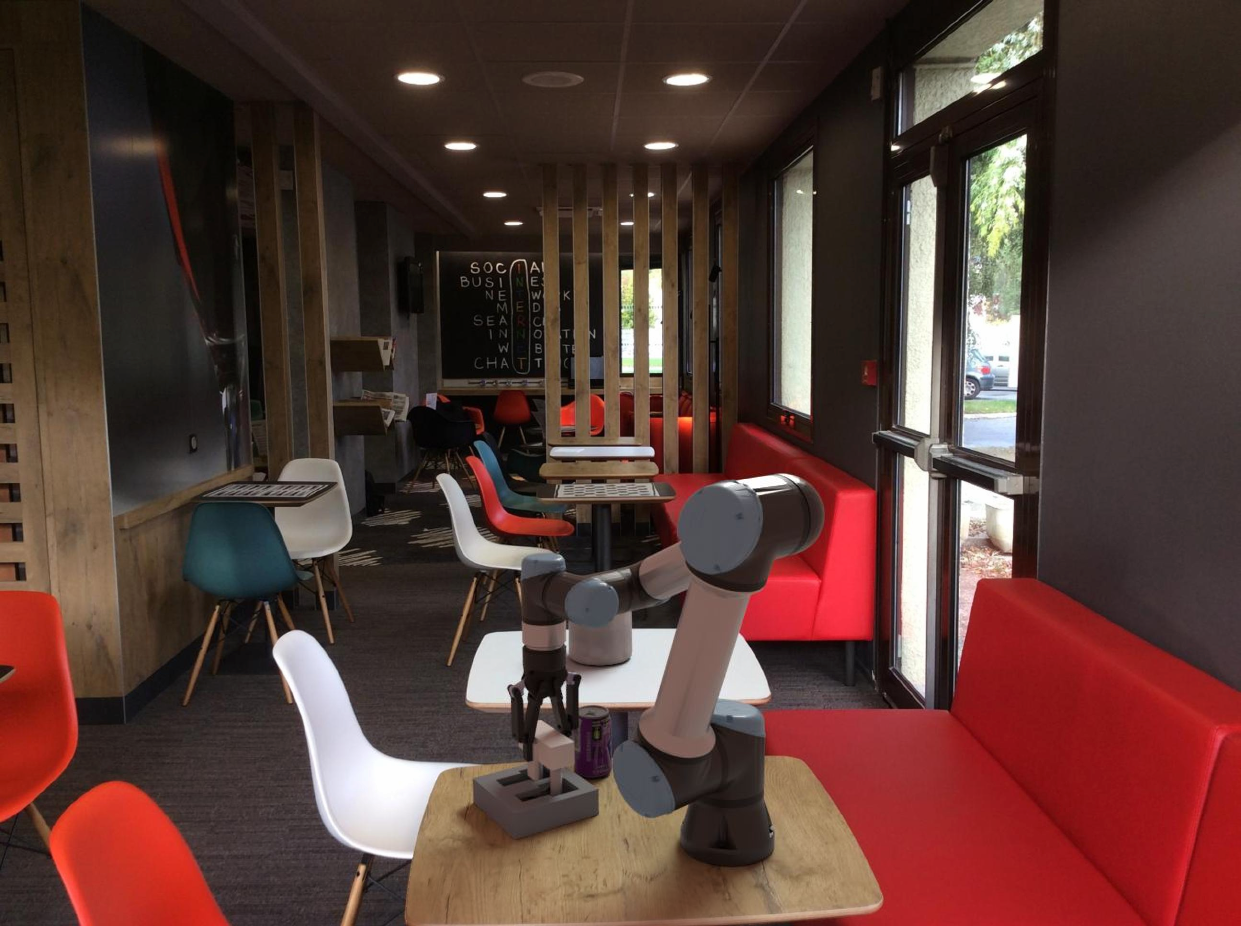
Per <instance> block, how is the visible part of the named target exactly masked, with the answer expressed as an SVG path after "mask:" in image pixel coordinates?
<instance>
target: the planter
mask: <svg viewBox="0 0 1241 926" xmlns="http://www.w3.org/2000/svg"><path fill="white" fill-rule="evenodd" d="M632 612H633V611H630V612H625V613H623V614H619V615H616V616H615V617H614V619H613V620H612V621H610V622H609V623H608V624H607V625H606V626H605V627H602V628H591V627H584V626H582V625H581V626H580V625H578V624H575V623H574V622H571V621H568V656H569V658H570V659H572V661H574V662H575V663H577V662H578V663H577V664H580V663H582V664H581V665H583V664H587V665H586V666H589V665H596V666H595V667H605V666H604V665H610V666H614V665H613V664H616V665H619V664H618V663H620V664H622V663H624V661H625V662H626V661H628V660H629V659H630V658H631V657H632V655H633V622H632V621H633V620H632V619H633V617H632Z"/></svg>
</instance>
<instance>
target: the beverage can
mask: <svg viewBox="0 0 1241 926" xmlns="http://www.w3.org/2000/svg"><path fill="white" fill-rule="evenodd" d="M609 711H610V710H609V708H608V707H606V706H603V705H599V704H589V705H583V706H579V727H578V729H577V730H573V741H574V756H575V765H573V772H574V773H576V774H577V775H579V776H581V777H584V778H591V779H596V778H602V777H603V776H605V775H607V774H609V773H610V772H612V771H613V768H612V759H613V755H612V753H613V752H612V751H613V748H612V745H613V743H612V739H613V738H612V732H613V731H612V718H611V716H610V712H609Z"/></svg>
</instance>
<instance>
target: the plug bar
mask: <svg viewBox="0 0 1241 926" xmlns="http://www.w3.org/2000/svg"><path fill="white" fill-rule="evenodd" d="M534 741H535V742H536V743H538V765H539V780H542V779H543V765H544V766H546V767H547V768H548V769H550V787H549V788H550V791H549V788H546V789H542V790H540V793H539V794H536V795H532V796H531V797H533V798H534V797H535V798H539V797H542V796H546V795H550V796H552V797H554V796H558V795H561V794H563V793H562V768H563V767H567V768H568V767H571V766H574V765H575V756H574V740H572V739H570V737H569V738H567V737H566V736H564V735H563V734H561V733H560V732H559V731H558V730H557V729H555V728H554V727H552V726H551V725H550V724H548V723H546V722H545V721H543V720H541V719H538V722H537V728H536V733H535V738H534ZM518 748H519V749H521V750H522V751H523V743H519V742H518ZM531 781H532V782H534V780H533V779H532V778H531ZM537 781H538V780H537ZM548 793H550V794H548Z"/></svg>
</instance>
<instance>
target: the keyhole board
mask: <svg viewBox="0 0 1241 926" xmlns="http://www.w3.org/2000/svg"><path fill="white" fill-rule="evenodd" d="M546 788H550V769H548V768H547V767H546V766H544V765H543V779H542V780H538V781H534V782H532V781H531V778H530V777H529V776H528V771H527V763H526V764H522V765H518V766H515V767H510V768H507V769H503V770H499V771H494V772H491V773H487V774H483V775H480V776H475V777H473V778H472V800H473V804H474V805H476V806H477V807H478V808H479V809H480V810H481V811H482V812H484V814H486V816H488V817H489V818H490V819H491V820H492V821H494V823H496V824H497V825H498V826H499V827H500V828H502V830H503V831H505V833H507V834H508V835H509V836H510V837H512V838H513V839H514V840H518V839H522V838H525V837H528V836H531V835H535V834H539V833H542V832H545V831H548V830H552V829H554V828H557V827H561V826H565V825H567V824H571V823H575V822H577V821H580V820H584V819H588V818H591V817H593V816H594V817H595V816H598V815H600V814H599V813H600V811H599V809H600V807H599V805H600V804H599V799H600V798H599V795H600V794H599V789H598V788H597V787H596V786H594V785H593V784H591V783H590V782H589V781H587V780H586V779H584V778H583V776H581V775H580V774H578V773H576V772H575V771H574V770H571V769H570V768H569V767H568V766H567V767H565V773H563V774H562V794H561V795H558V796H554V797H552V796H550V794H546V795H544V796H541V797H535V798H532V799H529V800H526V801H522V800H521V799H524V798H528V797H532V795H536V794H539V793H540V790H542V789H546Z"/></svg>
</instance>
